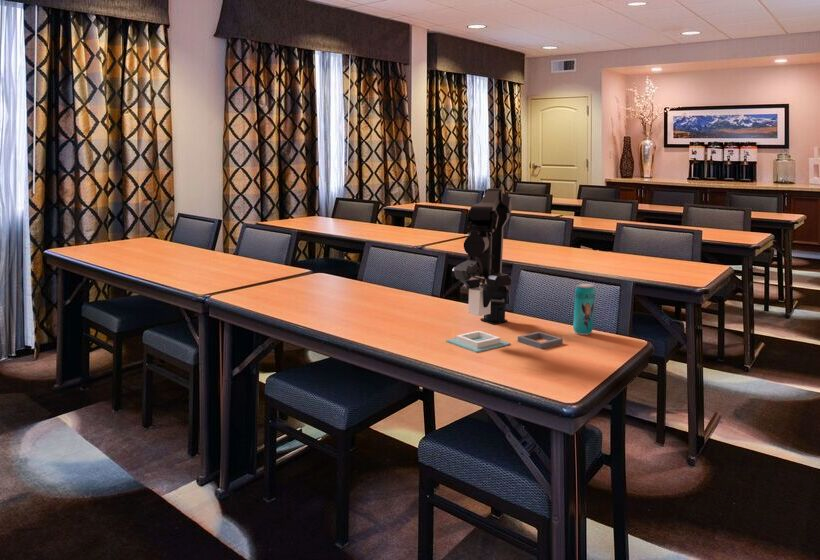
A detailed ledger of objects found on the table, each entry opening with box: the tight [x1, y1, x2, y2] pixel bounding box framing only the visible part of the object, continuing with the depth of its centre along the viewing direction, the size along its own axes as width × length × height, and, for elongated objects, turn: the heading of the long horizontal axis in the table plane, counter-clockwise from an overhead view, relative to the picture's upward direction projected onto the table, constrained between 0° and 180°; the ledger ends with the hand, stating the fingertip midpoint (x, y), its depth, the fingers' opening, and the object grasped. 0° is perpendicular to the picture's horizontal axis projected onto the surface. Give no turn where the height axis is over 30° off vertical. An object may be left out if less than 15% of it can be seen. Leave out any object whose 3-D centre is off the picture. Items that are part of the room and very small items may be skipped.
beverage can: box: [572, 282, 596, 336], centre depth 188 cm, size 6×6×15 cm
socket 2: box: [517, 331, 564, 350], centre depth 179 cm, size 9×9×2 cm
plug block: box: [467, 286, 491, 317], centre depth 176 cm, size 4×5×7 cm
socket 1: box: [445, 330, 511, 354], centre depth 178 cm, size 13×13×2 cm
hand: (479, 305), depth 176 cm, fingers closed on plug block, 4 cm apart
